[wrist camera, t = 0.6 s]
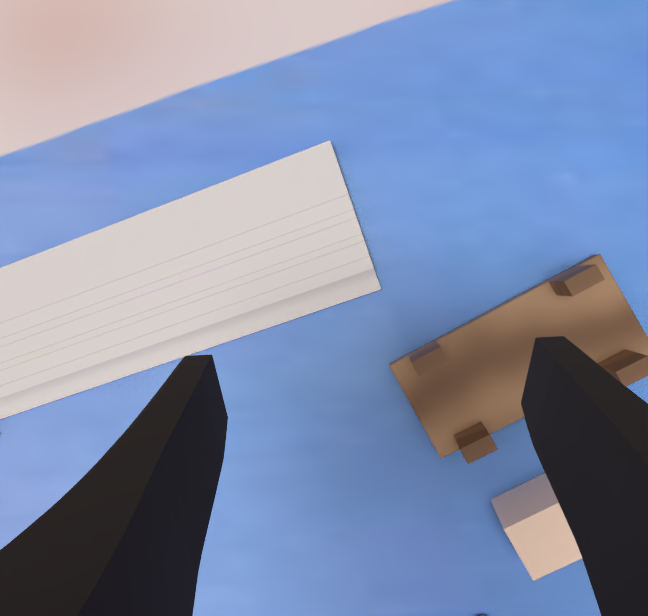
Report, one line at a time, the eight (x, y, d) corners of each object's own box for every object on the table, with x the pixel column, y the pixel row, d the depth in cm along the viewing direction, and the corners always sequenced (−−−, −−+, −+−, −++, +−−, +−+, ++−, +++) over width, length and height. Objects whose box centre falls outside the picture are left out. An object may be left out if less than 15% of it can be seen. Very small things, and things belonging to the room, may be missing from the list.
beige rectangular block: (683, 463, 34) (727, 490, 29) (515, 543, 35) (533, 580, 31) (655, 416, 34) (695, 436, 29) (489, 498, 35) (503, 529, 31)
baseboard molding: (388, 309, 36) (332, 146, 36) (387, 311, 33) (327, 133, 33) (7, 436, 40) (-42, 290, 40) (-22, 448, 37) (-76, 290, 37)
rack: (647, 349, 33) (682, 358, 29) (439, 453, 35) (445, 474, 31) (593, 255, 33) (621, 251, 30) (389, 363, 36) (389, 373, 32)
